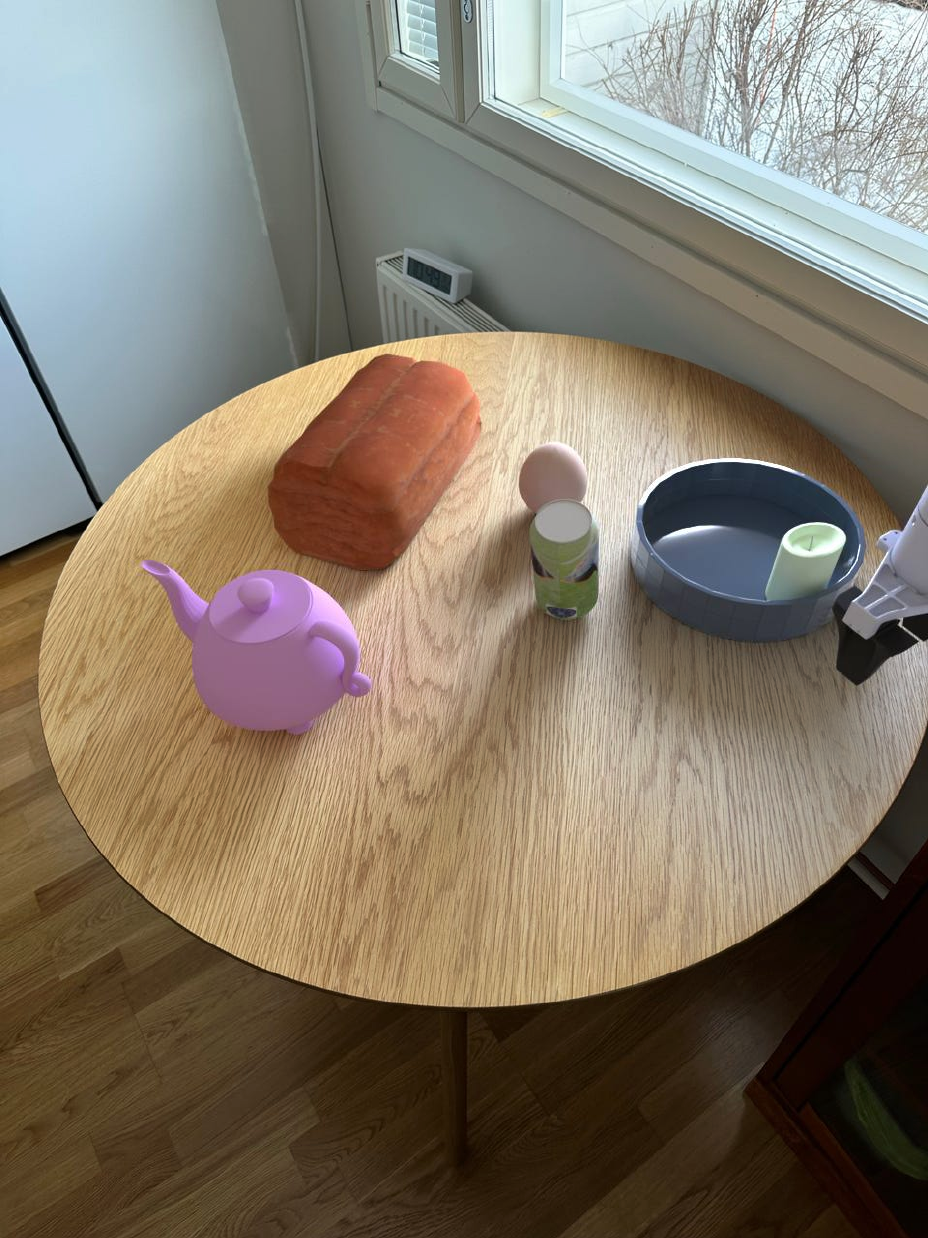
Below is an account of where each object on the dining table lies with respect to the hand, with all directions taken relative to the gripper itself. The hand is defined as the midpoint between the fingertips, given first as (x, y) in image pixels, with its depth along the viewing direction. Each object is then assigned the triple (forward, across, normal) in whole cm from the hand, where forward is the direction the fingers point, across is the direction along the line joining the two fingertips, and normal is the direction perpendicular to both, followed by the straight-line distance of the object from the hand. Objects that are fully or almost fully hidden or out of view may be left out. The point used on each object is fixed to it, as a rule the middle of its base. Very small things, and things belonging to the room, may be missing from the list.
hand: (882, 653), depth 62 cm
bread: (+12, +16, -50) cm, 54 cm away
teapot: (+12, +38, -31) cm, 50 cm away
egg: (+11, +3, -36) cm, 38 cm away
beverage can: (+11, +11, -24) cm, 29 cm away
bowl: (+10, -7, -19) cm, 23 cm away
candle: (+9, -7, -12) cm, 17 cm away
